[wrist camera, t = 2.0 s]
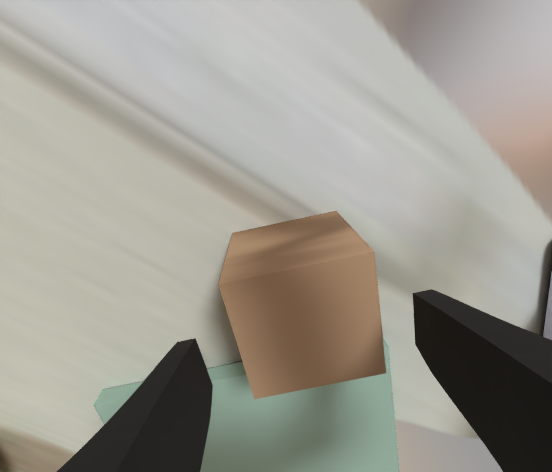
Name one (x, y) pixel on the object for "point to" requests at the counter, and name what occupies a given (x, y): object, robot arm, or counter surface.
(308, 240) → the walnut block
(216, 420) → the sage board
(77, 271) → the counter surface
